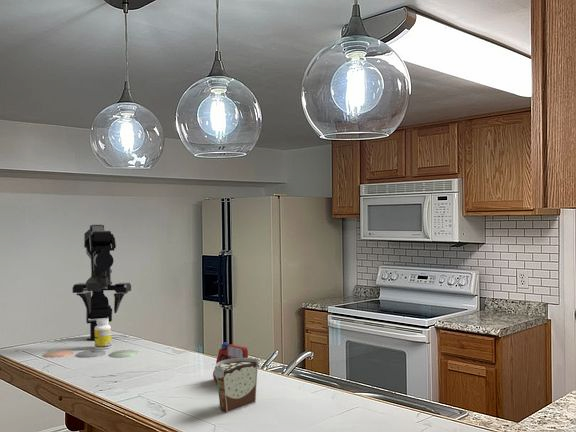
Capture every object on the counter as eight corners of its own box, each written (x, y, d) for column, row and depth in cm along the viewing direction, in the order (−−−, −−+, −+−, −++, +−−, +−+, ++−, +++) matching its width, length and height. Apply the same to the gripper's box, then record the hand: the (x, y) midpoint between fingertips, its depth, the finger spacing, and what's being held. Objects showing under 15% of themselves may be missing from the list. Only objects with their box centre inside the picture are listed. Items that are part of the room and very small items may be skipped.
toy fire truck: (229, 376, 163) (229, 338, 163) (257, 385, 153) (256, 344, 153) (208, 381, 158) (207, 342, 158) (235, 390, 149) (234, 349, 149)
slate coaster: (83, 352, 198) (83, 350, 198) (110, 352, 198) (109, 350, 198) (71, 358, 189) (71, 356, 189) (99, 358, 189) (99, 356, 189)
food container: (241, 396, 143) (240, 355, 143) (259, 401, 139) (259, 358, 140) (202, 409, 134) (202, 365, 134) (222, 414, 130) (221, 369, 130)
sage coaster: (115, 352, 197) (115, 350, 197) (142, 352, 197) (142, 350, 197) (105, 358, 188) (105, 356, 188) (133, 358, 188) (133, 356, 188)
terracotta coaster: (51, 352, 199) (51, 350, 199) (77, 352, 198) (77, 350, 198) (38, 358, 190) (38, 356, 190) (65, 358, 189) (65, 356, 189)
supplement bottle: (94, 347, 205) (94, 318, 205) (111, 345, 207) (110, 317, 207) (94, 350, 200) (94, 320, 200) (111, 348, 202) (111, 319, 202)
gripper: (64, 269, 196) (65, 317, 196) (120, 269, 195) (120, 316, 195) (79, 267, 207) (79, 311, 207) (131, 266, 206) (132, 311, 206)
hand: (102, 313), depth 204 cm, fingers open, 9 cm apart
